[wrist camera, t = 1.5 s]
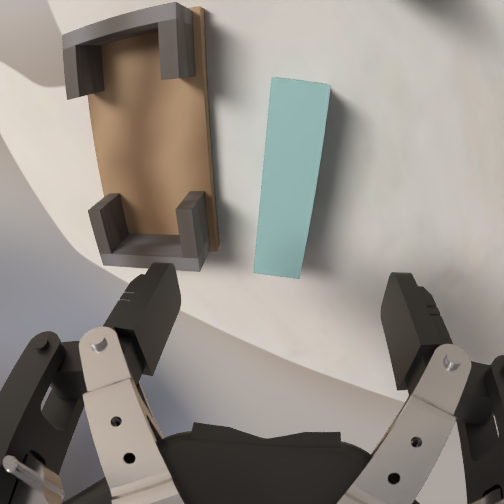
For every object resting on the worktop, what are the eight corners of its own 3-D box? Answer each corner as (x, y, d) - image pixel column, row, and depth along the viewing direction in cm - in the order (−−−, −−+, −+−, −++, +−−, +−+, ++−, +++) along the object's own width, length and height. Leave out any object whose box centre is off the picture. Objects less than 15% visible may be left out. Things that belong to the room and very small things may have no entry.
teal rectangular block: (323, 83, 20) (330, 85, 16) (299, 248, 28) (299, 278, 24) (275, 77, 20) (271, 77, 16) (259, 242, 28) (253, 273, 24)
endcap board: (203, 8, 17) (184, -4, 14) (219, 245, 28) (207, 275, 24) (90, 34, 19) (56, 33, 15) (121, 241, 29) (99, 267, 25)
